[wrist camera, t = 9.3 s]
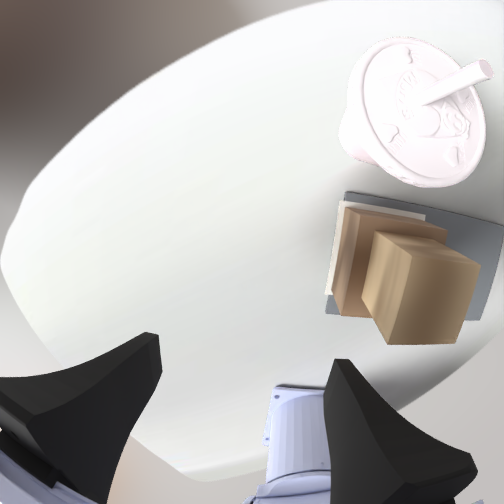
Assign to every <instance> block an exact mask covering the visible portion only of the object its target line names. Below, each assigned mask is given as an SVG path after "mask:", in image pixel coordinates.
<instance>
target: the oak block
mask: <svg viewBox="0 0 504 504" xmlns="http://www.w3.org/2000/svg"><path fill="white" fill-rule="evenodd" d="M480 268H481V265H480V264H478V263H476V262H475V261H473V260H471V259H469V258H467V257H466V256H464V255H462V254H460V253H458V252H456V251H455V250H453V249H451V248H449V247H447V246H445V245H443V244H441V243H439V242H437V241H435V240H433V239H428V238H421V237H415V236H408V235H402V234H395V233H388V232H381V231H375V232H374V238H373V244H372V249H371V255H370V260H369V265H368V270H367V275H366V279H365V284H364V288H363V293H362V297H361V298H362V300H363V302H364V303H365V305H366V307H367V309H368V310H369V312H370V314H371V316H372V317H373V319H374V321H375V323H376V325H377V326H378V328H379V330H380V332H381V334H382V336H383V338H384V339H385V341H386V343H387V345H426V344H454V343H455V342H456V339H457V337H458V335H459V332H460V330H461V327H462V324H463V322H464V319H465V316H466V313H467V311H468V308H469V305H470V302H471V299H472V296H473V292H474V289H475V286H476V282H477V279H478V275H479V271H480Z"/></svg>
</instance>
